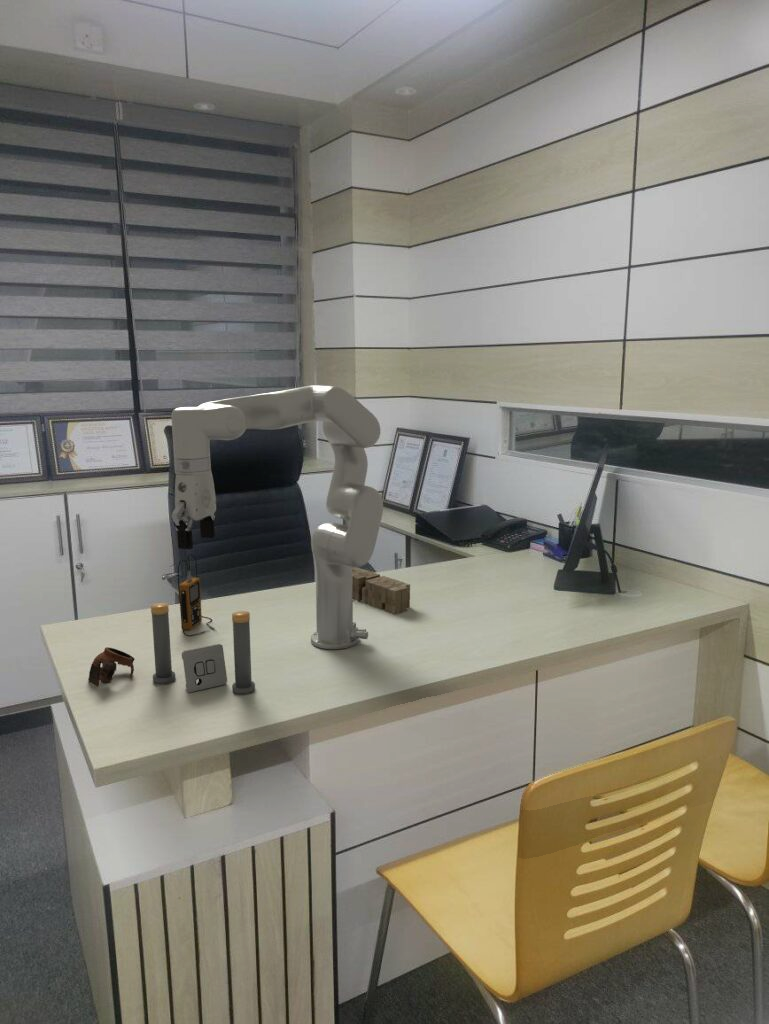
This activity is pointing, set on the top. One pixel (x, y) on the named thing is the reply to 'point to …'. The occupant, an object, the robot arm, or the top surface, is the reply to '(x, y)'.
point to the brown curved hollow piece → (108, 665)
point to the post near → (242, 654)
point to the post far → (162, 644)
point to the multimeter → (190, 601)
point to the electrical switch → (204, 667)
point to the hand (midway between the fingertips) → (197, 542)
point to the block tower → (380, 591)
